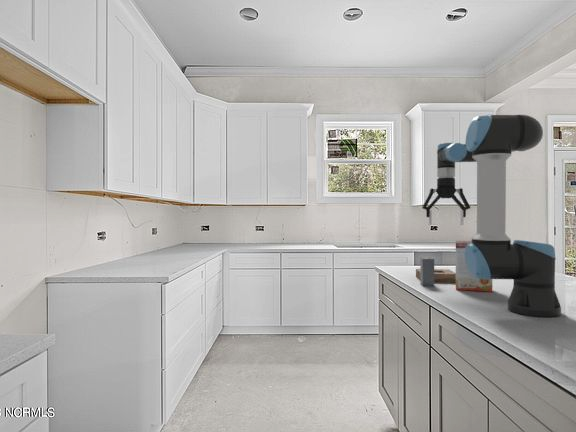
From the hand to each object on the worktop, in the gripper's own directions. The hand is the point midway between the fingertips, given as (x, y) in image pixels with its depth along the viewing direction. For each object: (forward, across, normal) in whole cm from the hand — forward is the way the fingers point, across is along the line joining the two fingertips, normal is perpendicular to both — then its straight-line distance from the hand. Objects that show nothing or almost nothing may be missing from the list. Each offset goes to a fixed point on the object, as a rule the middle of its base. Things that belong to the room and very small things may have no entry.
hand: (445, 224), depth 183 cm
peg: (+27, +8, +4) cm, 29 cm away
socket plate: (+27, +2, -12) cm, 29 cm away
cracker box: (+27, -9, +12) cm, 31 cm away
